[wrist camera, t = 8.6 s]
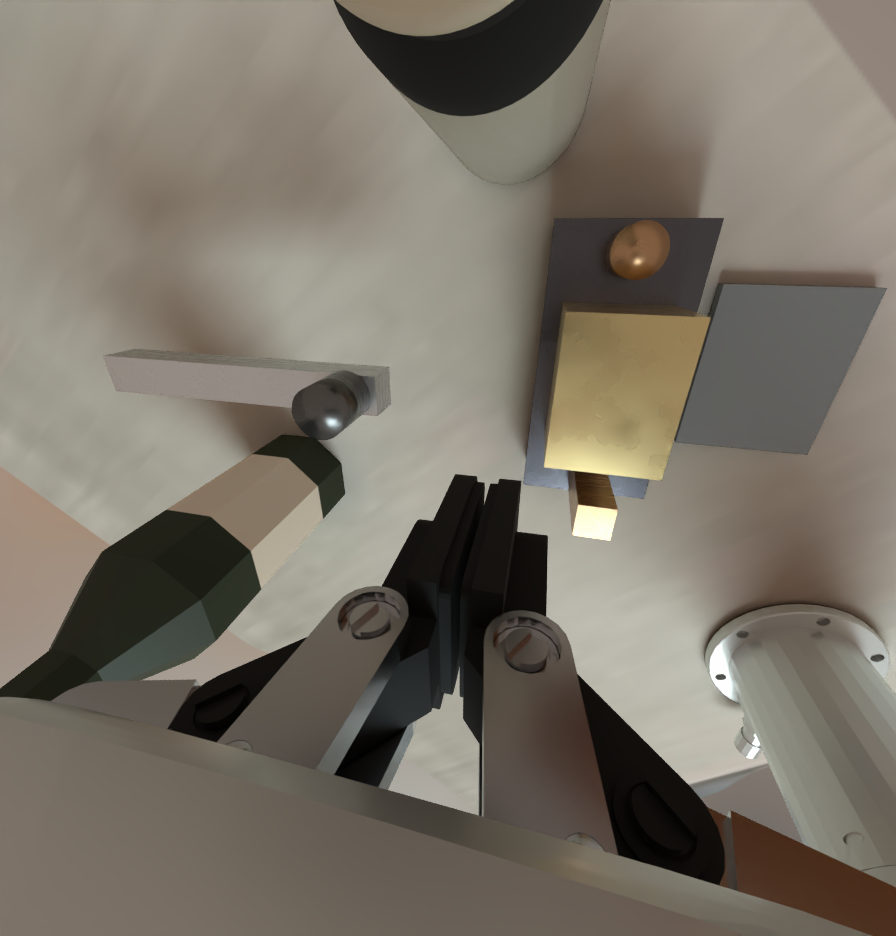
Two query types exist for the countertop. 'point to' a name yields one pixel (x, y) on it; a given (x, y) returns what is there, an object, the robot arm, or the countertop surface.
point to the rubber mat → (773, 364)
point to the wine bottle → (188, 571)
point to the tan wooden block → (620, 386)
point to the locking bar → (259, 384)
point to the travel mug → (488, 72)
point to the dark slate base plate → (614, 282)
